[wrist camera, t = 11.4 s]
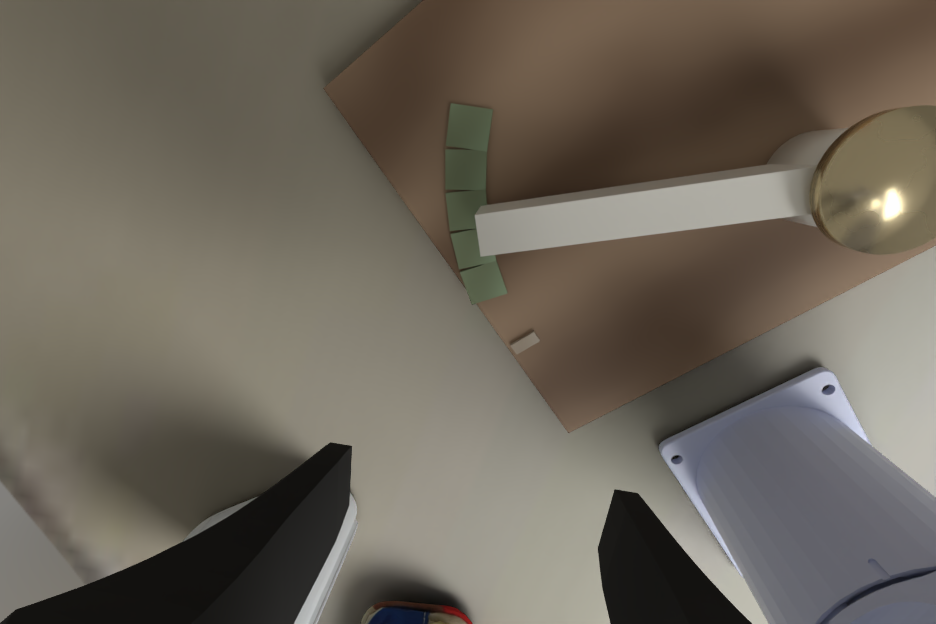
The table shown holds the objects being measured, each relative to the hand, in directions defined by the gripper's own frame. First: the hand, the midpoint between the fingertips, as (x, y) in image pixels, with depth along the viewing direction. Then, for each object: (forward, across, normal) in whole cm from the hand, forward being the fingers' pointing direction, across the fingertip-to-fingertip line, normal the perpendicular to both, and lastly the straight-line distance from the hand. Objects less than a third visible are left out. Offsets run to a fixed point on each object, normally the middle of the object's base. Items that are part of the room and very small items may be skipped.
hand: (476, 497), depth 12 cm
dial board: (+9, -6, -11) cm, 16 cm away
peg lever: (+8, -6, -8) cm, 13 cm away
